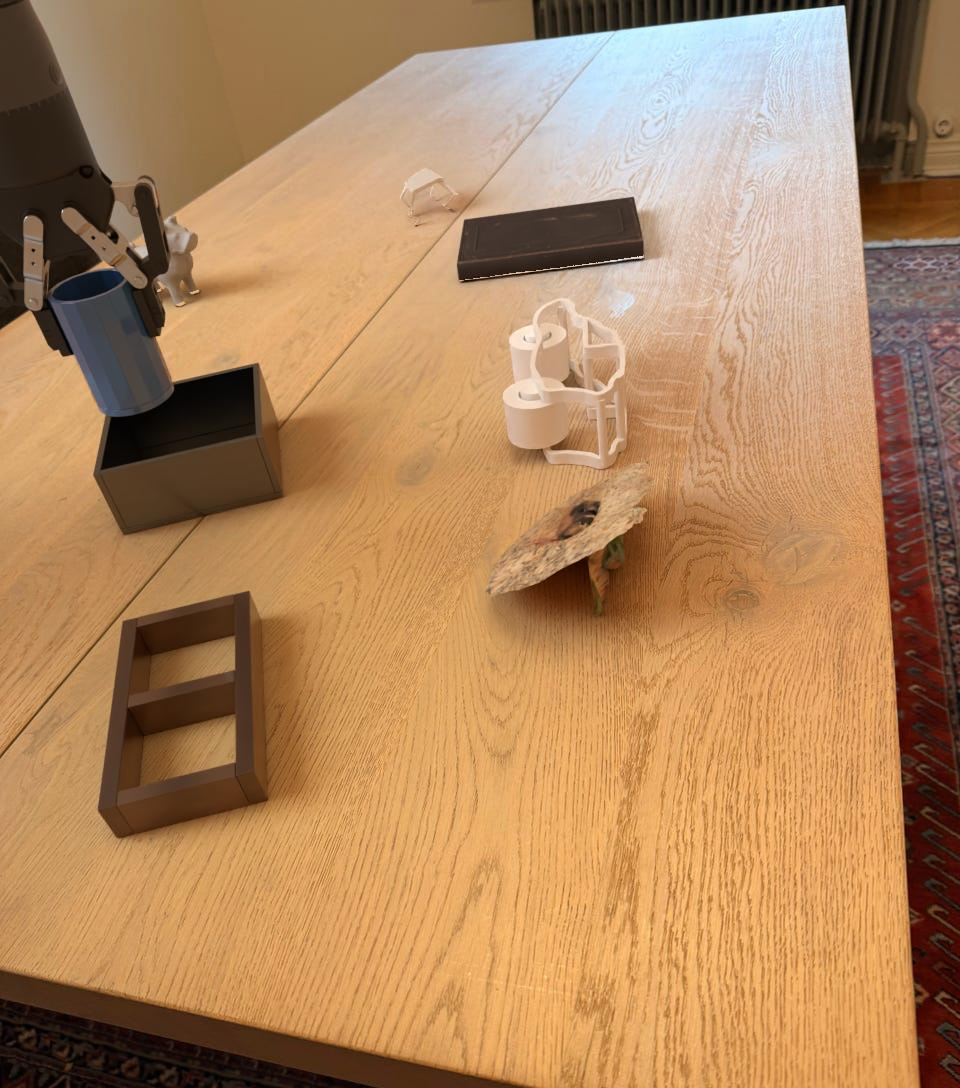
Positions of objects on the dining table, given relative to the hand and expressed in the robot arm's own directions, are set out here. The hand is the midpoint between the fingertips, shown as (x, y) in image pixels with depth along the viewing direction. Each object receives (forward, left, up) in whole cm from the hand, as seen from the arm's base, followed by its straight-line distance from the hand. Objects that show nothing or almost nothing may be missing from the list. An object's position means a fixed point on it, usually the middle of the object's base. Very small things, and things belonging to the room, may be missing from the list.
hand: (112, 341), depth 71 cm
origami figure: (+33, +73, -20) cm, 83 cm away
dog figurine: (-5, +61, -20) cm, 65 cm away
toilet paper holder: (+36, +7, -20) cm, 42 cm away
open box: (0, +12, -19) cm, 23 cm away
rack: (0, -22, -19) cm, 29 cm away
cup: (0, 0, -5) cm, 5 cm away
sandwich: (+30, -16, -20) cm, 39 cm away
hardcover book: (+45, +49, -20) cm, 70 cm away
